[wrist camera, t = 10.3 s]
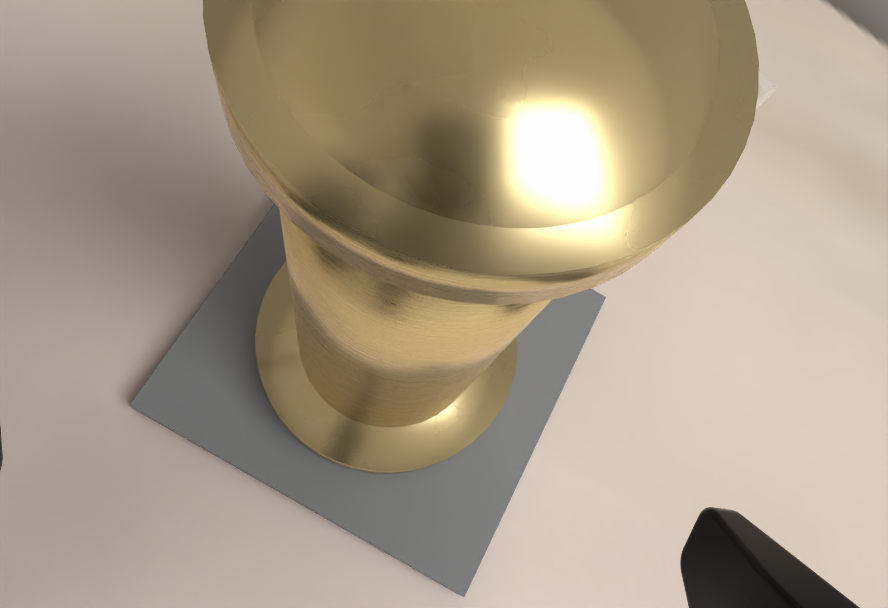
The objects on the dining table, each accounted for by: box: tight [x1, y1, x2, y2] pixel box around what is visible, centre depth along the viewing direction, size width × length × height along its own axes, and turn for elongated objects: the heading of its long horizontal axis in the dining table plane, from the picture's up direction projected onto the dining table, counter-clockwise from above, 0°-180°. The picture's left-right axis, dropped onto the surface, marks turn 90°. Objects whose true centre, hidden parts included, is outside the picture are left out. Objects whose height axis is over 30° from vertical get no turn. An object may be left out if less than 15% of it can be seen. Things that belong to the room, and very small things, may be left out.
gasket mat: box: [129, 204, 606, 597], centre depth 18 cm, size 9×9×1 cm
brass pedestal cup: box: [203, 0, 759, 474], centre depth 12 cm, size 6×6×12 cm
